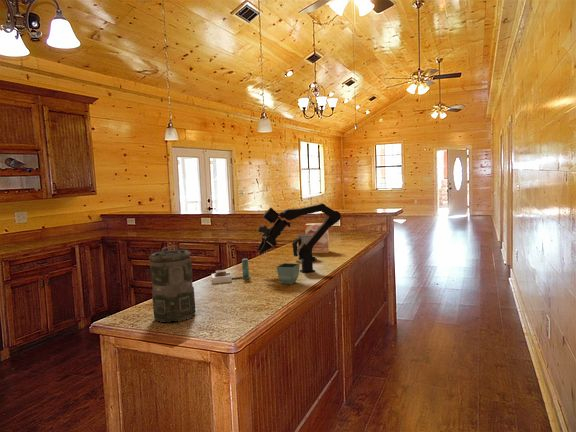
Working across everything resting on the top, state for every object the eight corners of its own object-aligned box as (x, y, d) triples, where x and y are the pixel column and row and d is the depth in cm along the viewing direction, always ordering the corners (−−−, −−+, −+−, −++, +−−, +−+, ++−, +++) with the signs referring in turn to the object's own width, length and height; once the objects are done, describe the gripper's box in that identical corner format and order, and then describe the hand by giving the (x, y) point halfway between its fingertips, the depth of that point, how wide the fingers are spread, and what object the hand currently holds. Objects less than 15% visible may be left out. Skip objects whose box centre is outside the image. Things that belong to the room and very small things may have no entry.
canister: (174, 326, 156) (167, 250, 154) (145, 320, 165) (138, 249, 162) (204, 313, 170) (198, 243, 167) (176, 308, 178) (170, 242, 175)
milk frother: (303, 256, 275) (302, 233, 274) (324, 258, 266) (323, 234, 265) (291, 260, 264) (289, 237, 263) (312, 262, 255) (311, 238, 253)
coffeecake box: (306, 253, 285) (304, 224, 284) (307, 251, 292) (306, 223, 291) (328, 252, 283) (327, 223, 281) (329, 251, 290) (328, 222, 288)
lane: (230, 277, 229) (229, 271, 229) (231, 281, 219) (231, 275, 219) (212, 279, 227) (211, 273, 227) (212, 283, 217) (212, 277, 217)
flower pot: (300, 281, 211) (299, 263, 211) (293, 285, 203) (292, 267, 203) (284, 280, 215) (283, 263, 214) (277, 284, 207) (276, 266, 206)
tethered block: (249, 276, 228) (248, 258, 228) (251, 278, 224) (249, 259, 223) (216, 279, 225) (214, 261, 224) (216, 282, 220) (215, 263, 219)
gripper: (263, 217, 235) (246, 240, 234) (267, 221, 217) (248, 245, 216) (279, 230, 237) (261, 252, 236) (284, 234, 219) (265, 258, 218)
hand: (259, 251), depth 227 cm, fingers open, 9 cm apart
